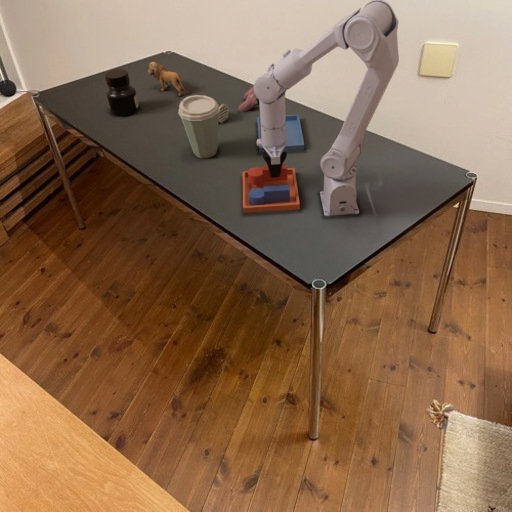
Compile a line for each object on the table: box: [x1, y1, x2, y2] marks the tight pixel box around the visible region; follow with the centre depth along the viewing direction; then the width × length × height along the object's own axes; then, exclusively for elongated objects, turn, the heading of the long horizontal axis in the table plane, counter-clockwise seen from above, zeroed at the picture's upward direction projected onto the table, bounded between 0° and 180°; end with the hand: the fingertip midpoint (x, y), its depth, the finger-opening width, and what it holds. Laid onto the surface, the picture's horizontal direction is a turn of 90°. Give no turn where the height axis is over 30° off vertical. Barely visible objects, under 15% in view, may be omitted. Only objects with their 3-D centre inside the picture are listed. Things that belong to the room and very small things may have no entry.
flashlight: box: [178, 95, 230, 124], centre depth 154 cm, size 15×5×5 cm, turn 58°
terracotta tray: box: [242, 167, 301, 214], centre depth 124 cm, size 15×13×2 cm
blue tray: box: [256, 113, 305, 154], centre depth 143 cm, size 17×12×2 cm
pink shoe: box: [237, 85, 258, 112], centre depth 157 cm, size 10×5×7 cm, turn 168°
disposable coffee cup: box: [177, 94, 219, 159], centre depth 135 cm, size 11×11×15 cm
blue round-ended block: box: [249, 185, 290, 206], centre depth 120 cm, size 10×4×4 cm, turn 91°
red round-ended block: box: [247, 163, 288, 185], centre depth 125 cm, size 10×4×4 cm, turn 92°
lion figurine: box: [146, 61, 190, 97], centre depth 168 cm, size 15×5×9 cm, turn 62°
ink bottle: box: [104, 68, 140, 117], centre depth 158 cm, size 10×9×12 cm
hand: (275, 173), depth 125 cm, fingers closed on red round-ended block, 2 cm apart
